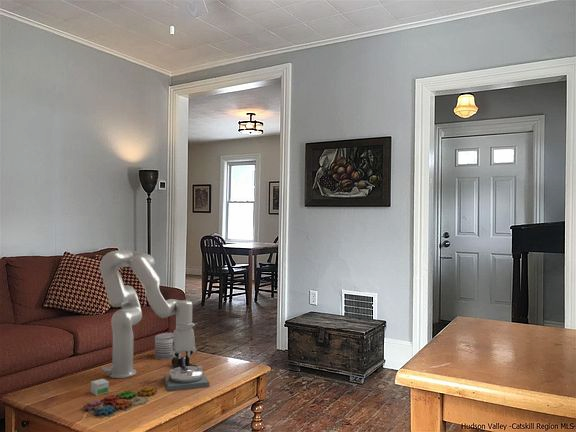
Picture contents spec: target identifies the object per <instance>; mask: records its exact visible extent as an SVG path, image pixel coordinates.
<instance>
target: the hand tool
mask: <svg viewBox="0 0 576 432" xmlns="http://www.w3.org/2000/svg"><path fill="white" fill-rule="evenodd" d="M171 366H173V367H174V368H177V367H179V366H178V358H177V357H176V356H175V357H173V358H171ZM188 366H195V367H197V366H198V365H197V364H192V363H191V362H189V364H188Z"/></svg>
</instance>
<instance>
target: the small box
mask: <svg viewBox="0 0 576 432" xmlns="http://www.w3.org/2000/svg"><path fill="white" fill-rule="evenodd" d="M109 387H110V382H109V380H107V379H105V378H100V379H96V380H91V381H90V393H91V394H93V395H94V396H101V395H104V394H107V393H108V394H109V390H110V388H109Z"/></svg>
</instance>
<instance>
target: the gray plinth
mask: <svg viewBox="0 0 576 432" xmlns="http://www.w3.org/2000/svg"><path fill="white" fill-rule="evenodd" d="M163 380H164V383H165V385H166V386H165V387H166V388H167V391H168V392H173V391H180V390H191V389H198V388H200V389H201V388H207V387H208V388H209V387H210V381H209V380H208V378H207V375H205V373H204V372H203V376H202V379H200V380H198V381H195V382H190V383H176V382H173V381H171V380H170V379H169V372H166V373H163Z"/></svg>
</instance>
